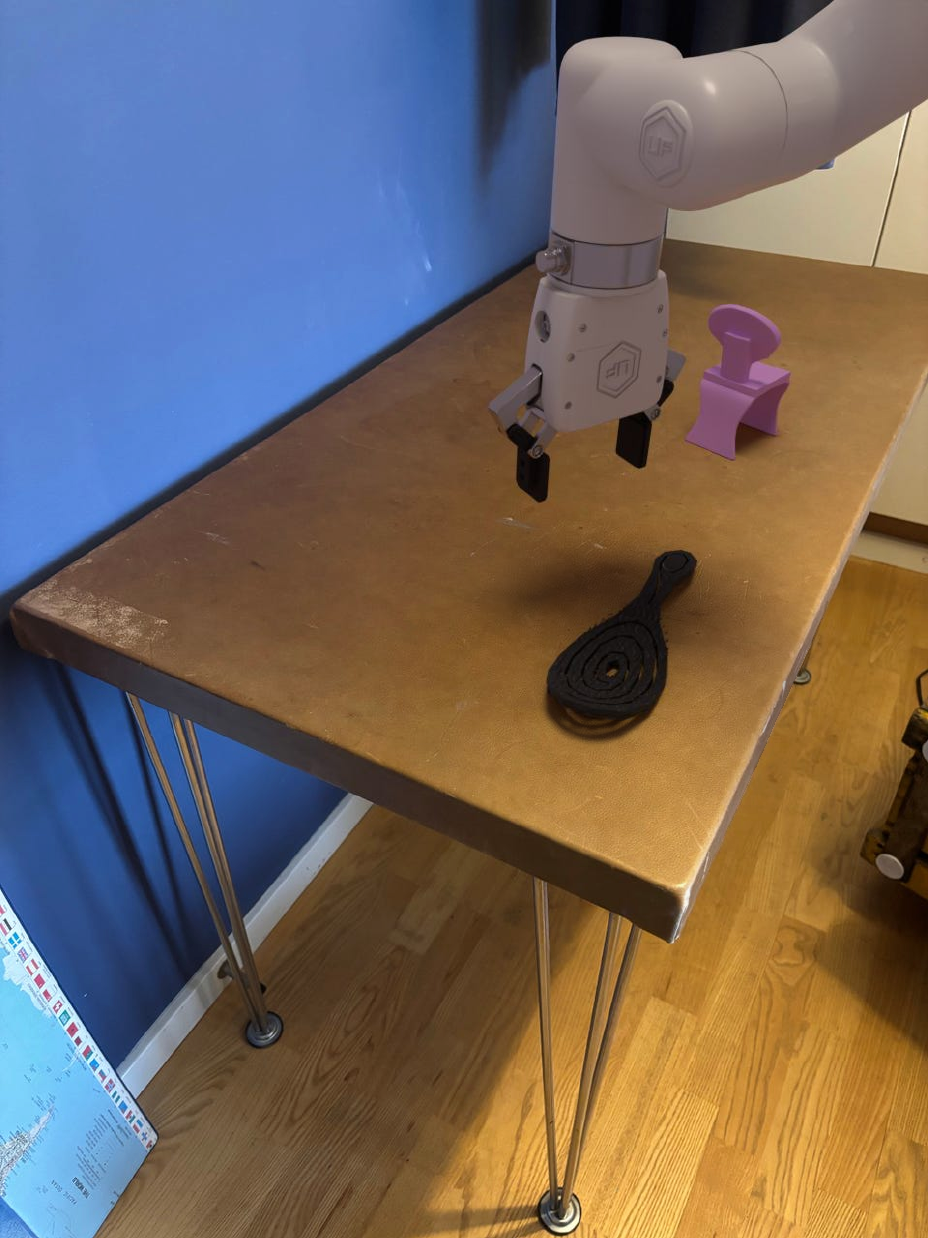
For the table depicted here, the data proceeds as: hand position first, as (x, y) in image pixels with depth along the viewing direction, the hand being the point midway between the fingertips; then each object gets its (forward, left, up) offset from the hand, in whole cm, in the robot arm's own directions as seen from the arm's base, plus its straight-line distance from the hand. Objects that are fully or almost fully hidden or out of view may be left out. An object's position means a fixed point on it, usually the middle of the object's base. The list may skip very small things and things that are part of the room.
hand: (582, 476), depth 72 cm
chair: (+13, -31, -11) cm, 35 cm away
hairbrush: (-8, 0, -11) cm, 14 cm away
